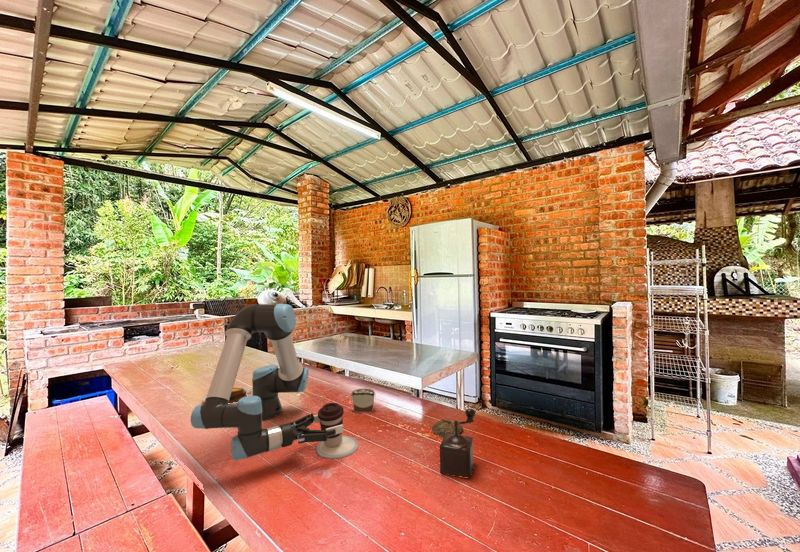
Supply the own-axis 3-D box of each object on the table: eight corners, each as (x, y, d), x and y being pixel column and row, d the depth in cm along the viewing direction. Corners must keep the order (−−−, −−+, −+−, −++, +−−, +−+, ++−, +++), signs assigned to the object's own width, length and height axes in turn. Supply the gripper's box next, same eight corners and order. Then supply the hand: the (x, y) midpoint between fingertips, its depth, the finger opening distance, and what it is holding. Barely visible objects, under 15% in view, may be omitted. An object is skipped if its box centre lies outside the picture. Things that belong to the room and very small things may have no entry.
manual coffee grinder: (472, 480, 106) (471, 425, 106) (439, 474, 110) (438, 420, 110) (477, 455, 121) (476, 407, 121) (447, 450, 124) (447, 403, 124)
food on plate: (245, 388, 198) (245, 378, 198) (261, 399, 181) (261, 387, 181) (197, 400, 180) (197, 388, 180) (210, 413, 163) (210, 400, 163)
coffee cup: (350, 437, 132) (347, 402, 130) (336, 452, 123) (333, 416, 121) (330, 431, 136) (327, 398, 134) (315, 446, 127) (312, 411, 125)
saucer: (311, 444, 130) (311, 442, 130) (348, 433, 139) (348, 431, 139) (324, 463, 117) (324, 461, 117) (364, 450, 125) (364, 448, 125)
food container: (377, 407, 166) (377, 388, 166) (375, 412, 160) (375, 392, 160) (354, 407, 167) (353, 387, 167) (351, 411, 161) (350, 391, 161)
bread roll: (467, 431, 140) (466, 420, 140) (450, 442, 131) (450, 429, 131) (443, 422, 149) (443, 411, 149) (425, 431, 140) (425, 420, 140)
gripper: (272, 433, 126) (325, 419, 138) (288, 463, 105) (349, 444, 117) (272, 413, 126) (324, 402, 138) (288, 440, 105) (348, 423, 117)
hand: (336, 421), depth 127 cm, fingers open, 13 cm apart
